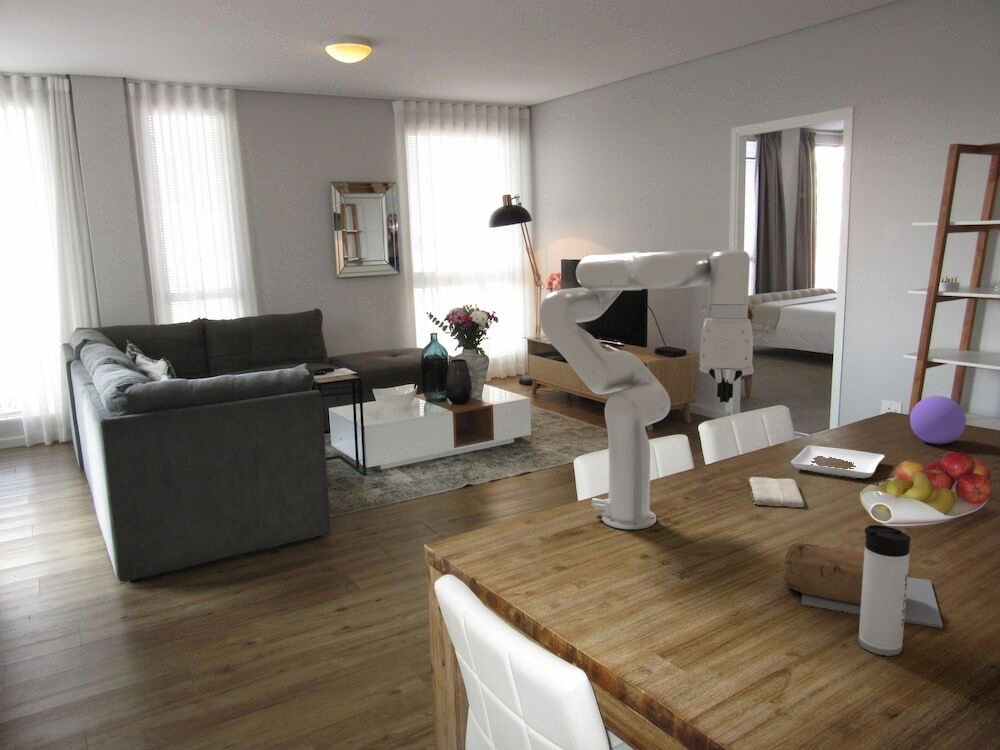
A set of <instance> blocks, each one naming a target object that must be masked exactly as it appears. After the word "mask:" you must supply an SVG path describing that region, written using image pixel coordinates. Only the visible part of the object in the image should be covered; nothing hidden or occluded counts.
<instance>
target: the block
mask: <svg viewBox="0 0 1000 750" xmlns="http://www.w3.org/2000/svg"><path fill="white" fill-rule="evenodd" d="M864 552H865V550H864V551H863V550H858V549H850V548H841V547H829V546H819V545H818V544H812V543H805V542H804V543H803V542H794V543H791V544H790V546H789V547H788V549H787V551H786V555H785V561H784V565H783V573H782V576H783V579H782V580H783V583H784V586H785V587H787V588H788V589H792V590H795V591H797V592H800V593H801V594H802V593H805V594H809V595H813V596H818V597H823V598H828V599H832V600H837V601H842V602H847V603H853V604H859V605H861V596H862V581H863V566H864Z"/></svg>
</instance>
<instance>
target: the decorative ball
mask: <svg viewBox="0 0 1000 750" xmlns="http://www.w3.org/2000/svg"><path fill="white" fill-rule="evenodd" d="M909 416H910V417H909V423H910V426H911V430H912V431H913V432H914V434H915V435H916V436H917V437H918V438H919V439H921V440H922V441H923V442H926V443H929V444H932V443H933V444H932V445H946V444H949V443H952V442H953V441H955V440H957V439H958V438H959V437H960V436H961V435H962V433H963V432H964V430H965V428H966V424H967V423H966V422H967V420H966V419H967V418H966V414H965V412H964V410H963V408H962V407H961V405H960V404H959V403H958V402H956V401H955V400H953V399H951V398H949V397H947V396H946V397H945V396H943V395H942V396H941V395H931V396H929V397H925V398H924V399H921V400H920V401H918V402H917V403H916V404H915V405H914V407H913V408H912V409H911V412H910V415H909Z"/></svg>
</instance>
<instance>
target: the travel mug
mask: <svg viewBox="0 0 1000 750" xmlns="http://www.w3.org/2000/svg"><path fill="white" fill-rule="evenodd" d="M864 534H865V544H864V566H863V581H862V596H861V610H860V615H859V628H858V629H859V630H858V644H859V645H860V647H861V648H862V649H864V650H865V649H866V651H867V650H868V652H869V651H870V653H871V652H872V654H874V653H875V654H874V655H877V654H879V655H878V656H882V655H885V656H884V657H892V656H893V655H894V656H897V655H899V654H901V652H902V650H903V641H904V630H905V629H904V628H905V627H904V626H905V622H904V618H905V605H906V592H907V580H908V577H909V565H910V548H911V547H910V546H911V537H910V535H907V534H906V533H904V532H902V531H901V530H900V529H898V528H894V527H890V526H885V525H879V524H871V525H868V526H866V527H865V528H864Z"/></svg>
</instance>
